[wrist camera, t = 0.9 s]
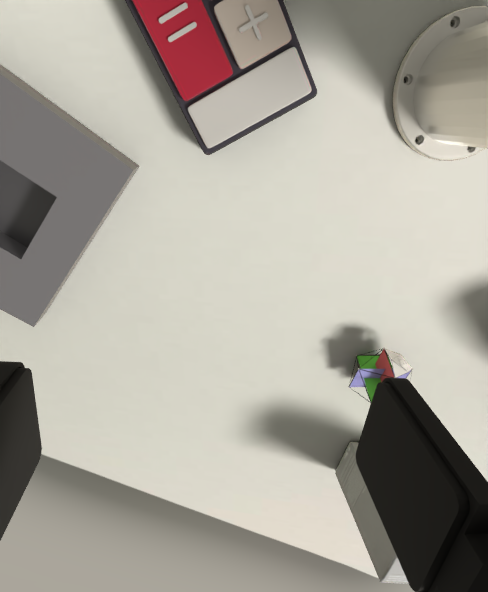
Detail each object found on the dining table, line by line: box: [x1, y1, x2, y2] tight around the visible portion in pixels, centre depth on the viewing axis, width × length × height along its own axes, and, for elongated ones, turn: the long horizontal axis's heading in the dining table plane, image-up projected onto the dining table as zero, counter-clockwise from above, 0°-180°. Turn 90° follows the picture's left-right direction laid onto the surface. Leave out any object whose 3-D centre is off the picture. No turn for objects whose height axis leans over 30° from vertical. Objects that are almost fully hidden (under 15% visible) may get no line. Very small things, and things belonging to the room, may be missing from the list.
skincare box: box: [335, 442, 409, 584], centre depth 50 cm, size 8×7×16 cm
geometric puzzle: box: [348, 348, 413, 403], centre depth 47 cm, size 7×7×8 cm
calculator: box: [125, 0, 317, 155], centre depth 32 cm, size 11×4×15 cm
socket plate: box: [0, 65, 139, 327], centre depth 36 cm, size 20×16×4 cm
